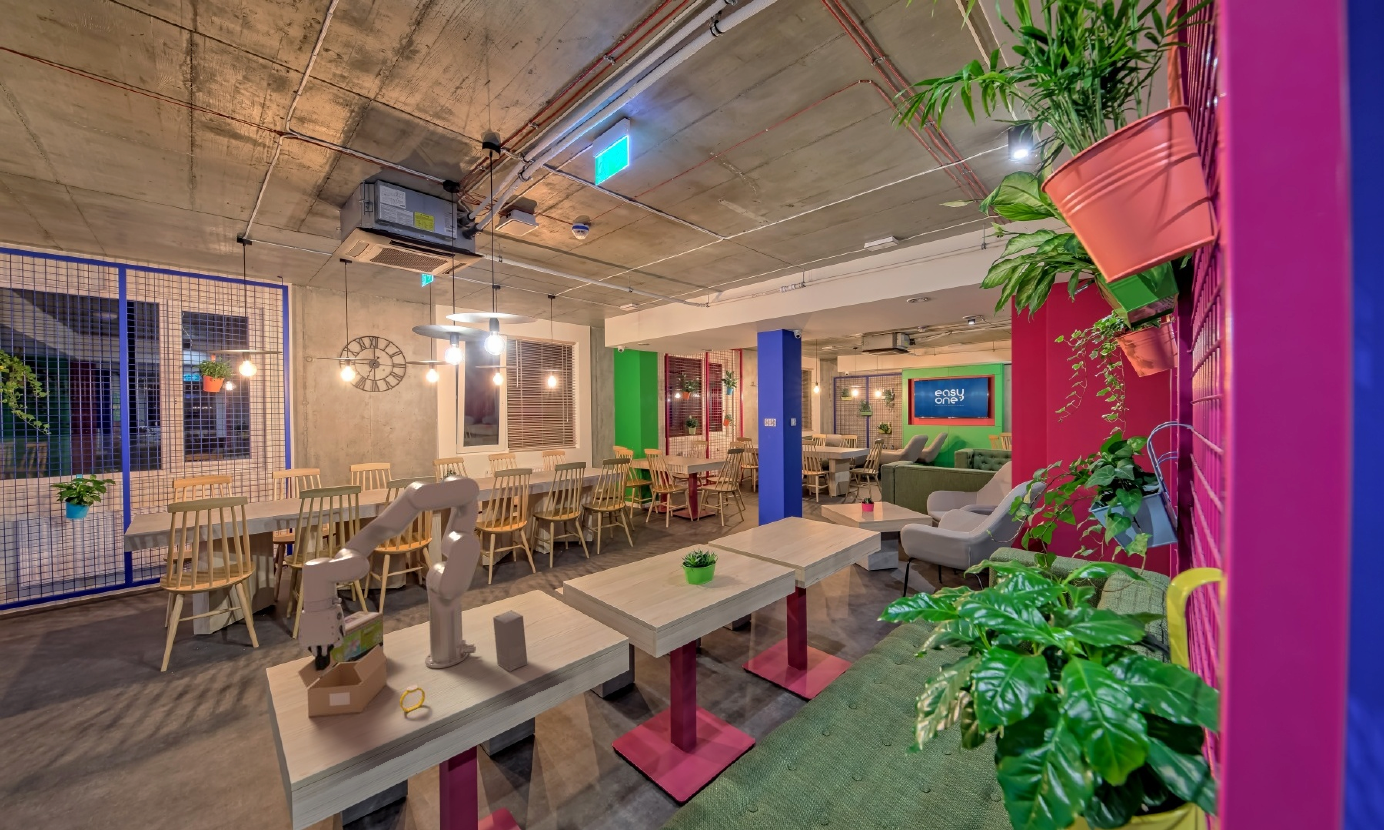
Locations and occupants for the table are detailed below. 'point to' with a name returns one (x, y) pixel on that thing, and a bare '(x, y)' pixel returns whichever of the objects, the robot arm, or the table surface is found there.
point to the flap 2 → (370, 663)
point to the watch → (411, 690)
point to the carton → (344, 690)
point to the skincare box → (510, 640)
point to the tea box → (359, 637)
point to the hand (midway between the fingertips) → (323, 667)
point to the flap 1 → (313, 672)
